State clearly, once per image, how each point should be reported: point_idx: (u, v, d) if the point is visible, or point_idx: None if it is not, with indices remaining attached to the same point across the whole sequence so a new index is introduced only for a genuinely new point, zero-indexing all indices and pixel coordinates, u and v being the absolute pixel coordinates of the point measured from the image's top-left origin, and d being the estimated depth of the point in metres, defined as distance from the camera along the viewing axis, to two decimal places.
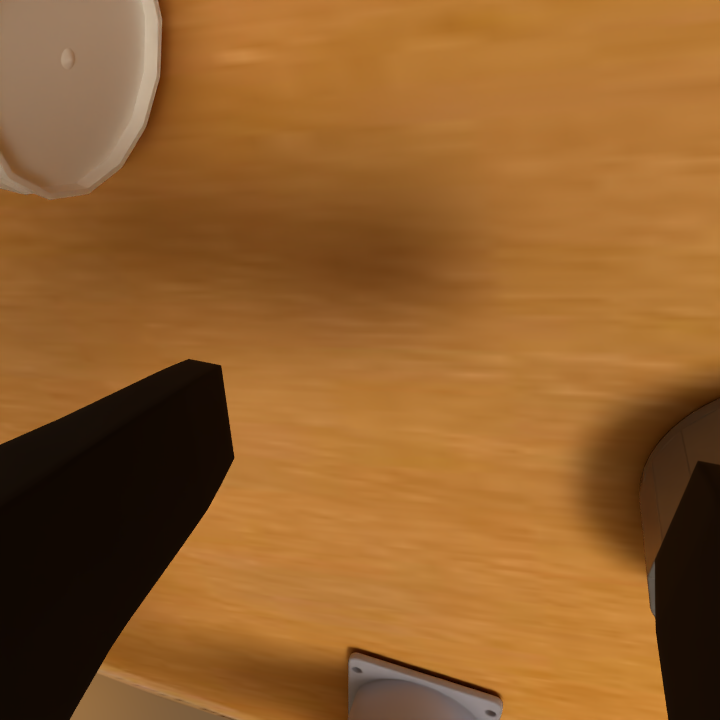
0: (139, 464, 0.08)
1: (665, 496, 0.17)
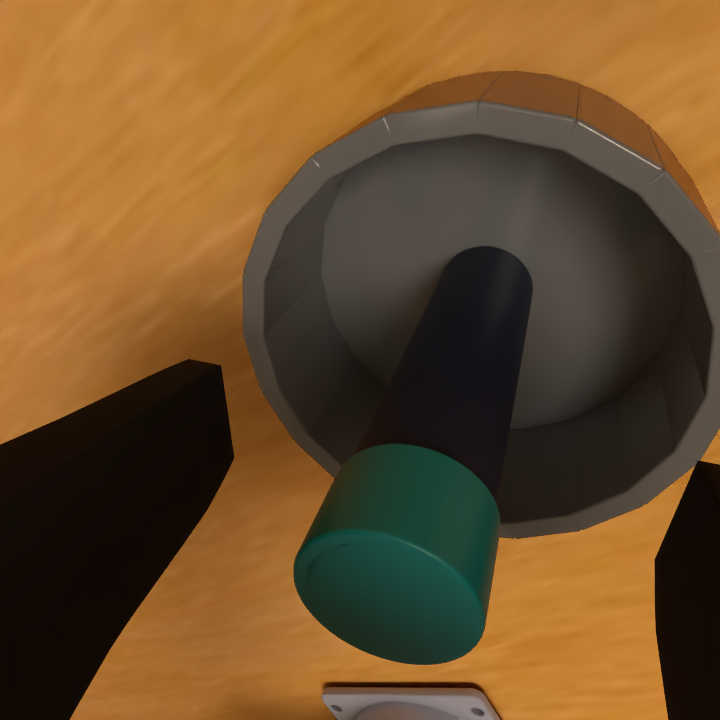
0: (139, 464, 0.08)
1: None
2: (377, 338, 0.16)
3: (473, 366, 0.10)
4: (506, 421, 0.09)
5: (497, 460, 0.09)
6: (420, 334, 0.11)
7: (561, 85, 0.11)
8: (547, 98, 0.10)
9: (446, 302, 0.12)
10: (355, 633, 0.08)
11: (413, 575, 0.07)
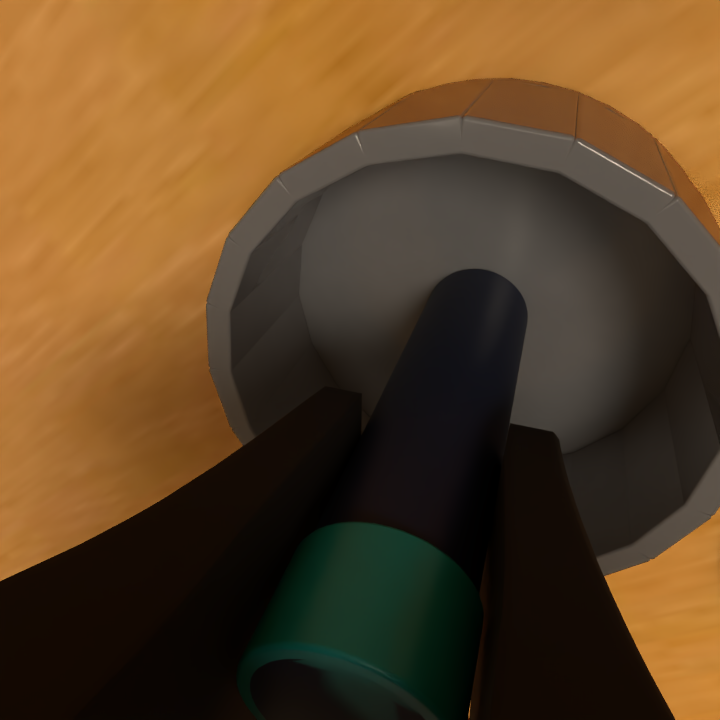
0: (303, 506, 0.07)
1: None
2: (361, 364, 0.15)
3: (456, 417, 0.08)
4: (493, 481, 0.08)
5: (481, 533, 0.07)
6: (399, 374, 0.10)
7: (558, 95, 0.10)
8: (542, 111, 0.09)
9: (430, 337, 0.10)
10: None
11: (373, 698, 0.06)
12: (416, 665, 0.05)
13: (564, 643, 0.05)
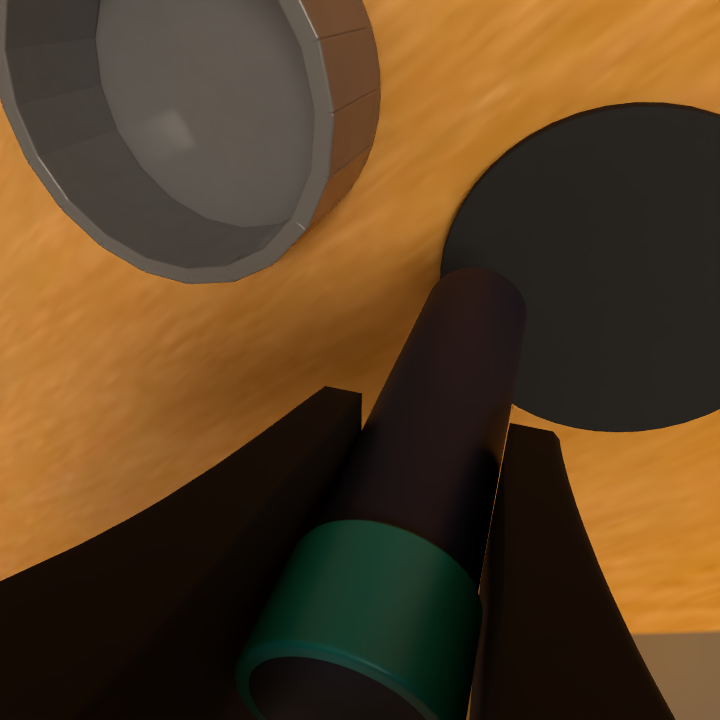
0: (302, 506, 0.07)
1: None
2: (155, 146, 0.19)
3: (456, 416, 0.08)
4: (492, 479, 0.08)
5: (480, 531, 0.07)
6: (398, 373, 0.10)
7: None
8: None
9: (429, 335, 0.10)
10: None
11: (372, 697, 0.06)
12: (415, 662, 0.05)
13: (564, 643, 0.05)
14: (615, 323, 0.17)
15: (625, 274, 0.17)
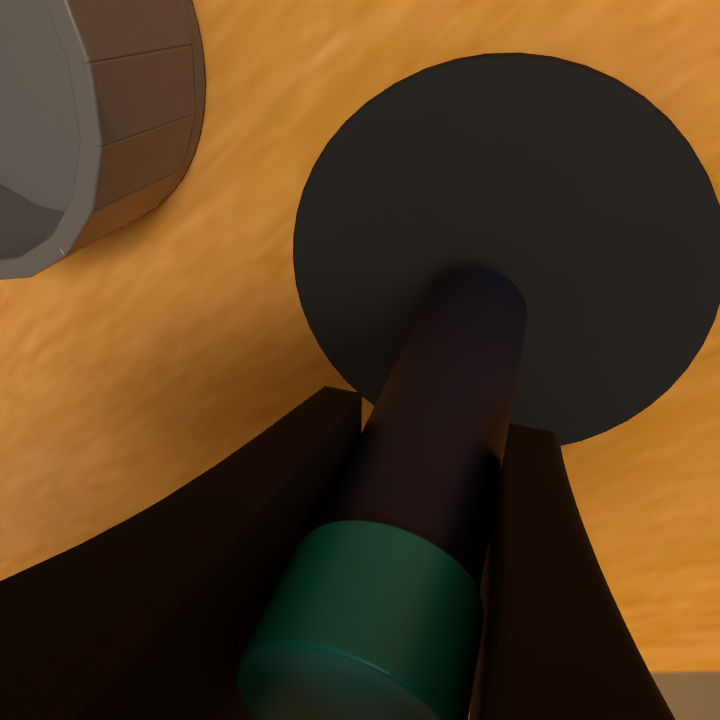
0: (302, 506, 0.07)
1: None
2: None
3: (456, 416, 0.08)
4: (493, 479, 0.08)
5: (481, 532, 0.07)
6: (399, 373, 0.10)
7: None
8: None
9: (429, 335, 0.10)
10: None
11: (374, 697, 0.06)
12: (416, 663, 0.05)
13: (564, 643, 0.05)
14: None
15: (496, 265, 0.14)
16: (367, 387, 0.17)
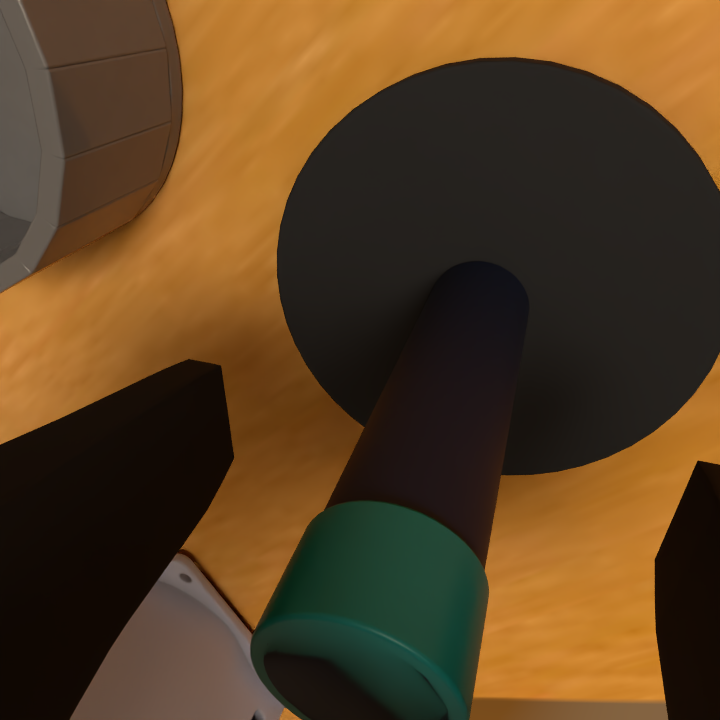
0: (139, 464, 0.08)
1: None
2: None
3: (461, 404, 0.09)
4: (497, 465, 0.08)
5: (486, 514, 0.08)
6: (404, 363, 0.10)
7: None
8: None
9: (434, 326, 0.11)
10: (322, 718, 0.07)
11: (384, 667, 0.06)
12: (425, 634, 0.06)
13: None
14: None
15: None
16: (356, 408, 0.16)
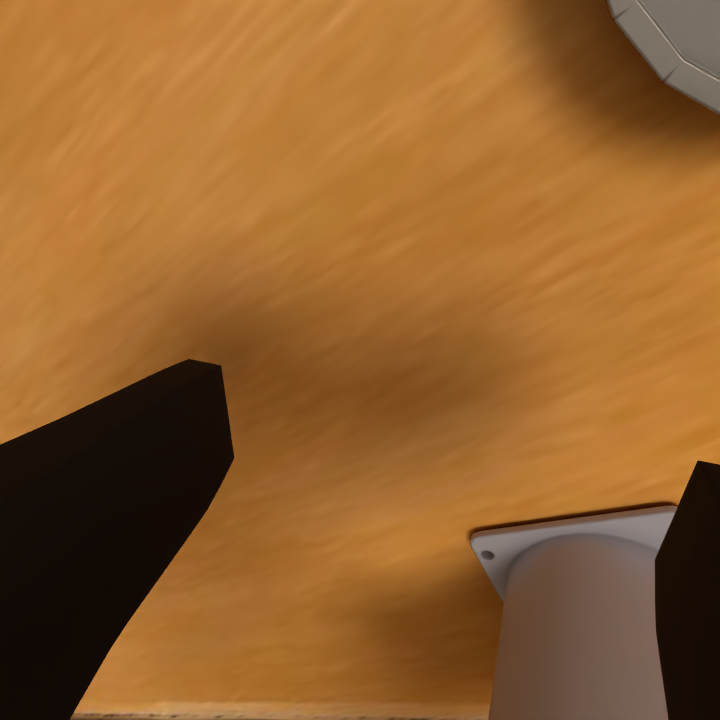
0: (139, 464, 0.08)
1: None
2: None
3: None
4: None
5: None
6: None
7: None
8: None
9: None
10: None
11: None
12: None
13: None
14: None
15: None
16: None
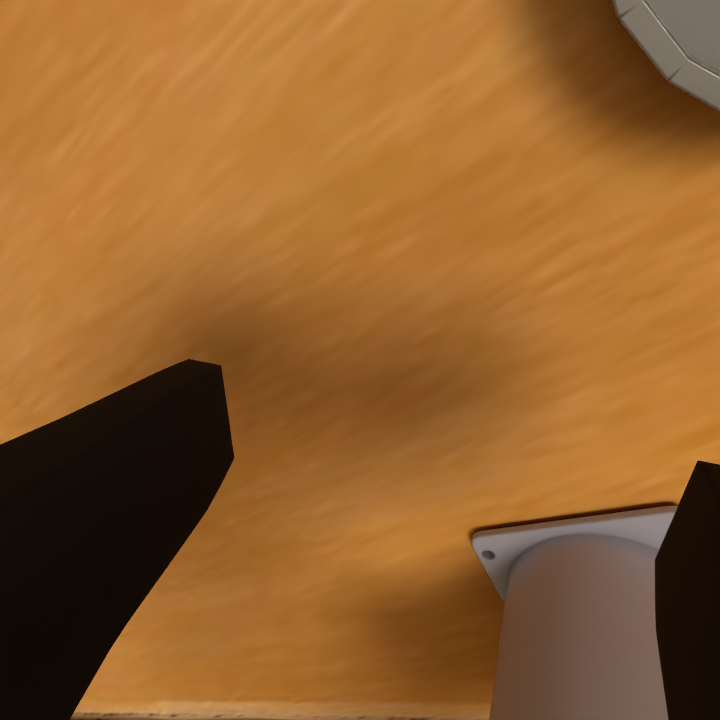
0: (139, 464, 0.08)
1: None
2: None
3: None
4: None
5: None
6: None
7: None
8: None
9: None
10: None
11: None
12: None
13: None
14: None
15: None
16: None
